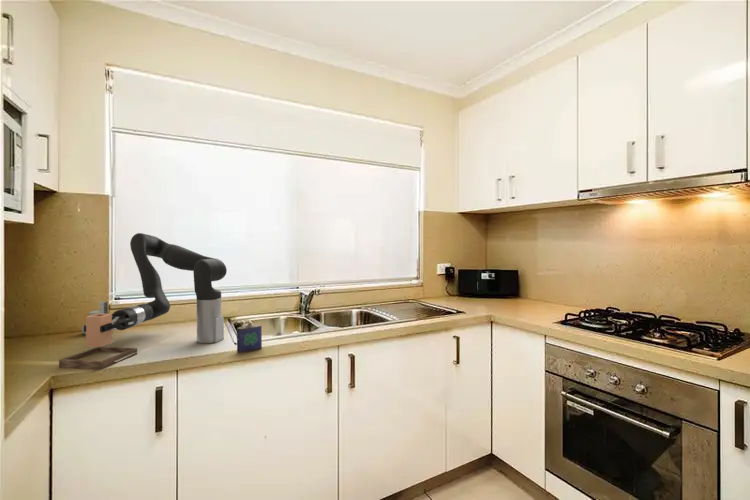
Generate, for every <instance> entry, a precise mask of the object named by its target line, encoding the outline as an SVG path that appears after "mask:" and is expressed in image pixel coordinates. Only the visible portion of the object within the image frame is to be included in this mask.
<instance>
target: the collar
mask: <svg viewBox="0 0 750 500" xmlns="http://www.w3.org/2000/svg"><path fill="white" fill-rule="evenodd" d="M112 314H113V313H108V314H94V315H90V316H89V315H87V316H85V324H86V335H85V347H90V348H96V347H105V346H104V345H106V346H108V345H107V344H109V343H111V344H113V343H112V341H113V330H108V331H105V332H100V326H102V325H105V324H108V323H111V322H112ZM109 345H110V344H109Z"/></svg>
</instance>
